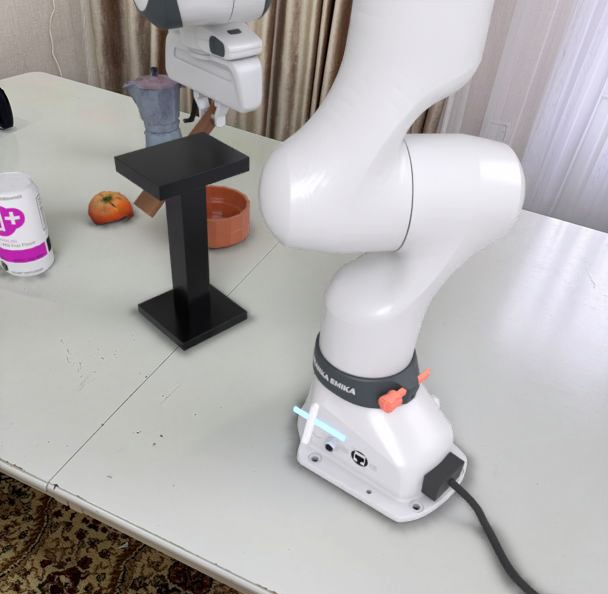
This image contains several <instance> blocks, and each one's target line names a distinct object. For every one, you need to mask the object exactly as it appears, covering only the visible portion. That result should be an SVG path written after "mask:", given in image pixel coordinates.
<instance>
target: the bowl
mask: <svg viewBox="0 0 608 594" xmlns="http://www.w3.org/2000/svg"><path fill="white" fill-rule="evenodd" d="M206 203H207V227H208V249H209V248H212V249H213V248H214V249H218V248H226V247H231V246H234V245H236V244H238V243H241V242H243V241H244V240H245V239H246V238H247V237H248V236H249V234H250V229H251V201H250V199H249V197H248V196H247V194H245V193H243V192H242V191H240V190H238V189H236V188H233V187H230V186H225V185H214V184H210V185H207V186H206Z"/></svg>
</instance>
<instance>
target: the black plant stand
mask: <svg viewBox="0 0 608 594" xmlns="http://www.w3.org/2000/svg"><path fill="white" fill-rule="evenodd" d="M188 135H189V134H188ZM188 135H186V136H182V138H179V139H175V140H171V141H168V142H164V143H161V144H157V145H154V146H150V147H146V146H145V147H144V148H140V149H136V150H132V151H129V152H126V153H121V154H119V155H114V156H113V160H114V161H113V162H114V167H115V168H114V169H115V172H116V173H118V174H120V175H121V176H122V177H124V178H125V179H127V180H128V181H130V182H131V183H132V184H134V185H135V186H137V187H138V188H140V189H141V190H142V191H143V190H144V191H146V192H147V193H149V194H150V195H152V196H153V197H155V198H156V199H158V200H159V201H163V200H165V202H164V205H165V206H164V207H165V215H166V217H165V218H166V227H167V238H168V240H167V241H168V249H169V260H170V272H171V284H172V289H169V290H167V291H165V292H163V293H161V294H158V295H156V296H154V297H151V298H149V299H146V300H145V301H142V302H140V303H138V304H137V310H138V313H139V314H140V315H141V316H143V317H144V318H145V319H146V320H147V321H148V322H150V323H151V324H152V325H153V326H154V327H156V328H157V329H158V330H159V331H160V332H161V333H162V334H164V335H165V336H166V337H167V338H168V339H170V341H172V342H173V343H174V344H175V345H176V346H178V347H179V348H180V349H181V350H182V351H183V352H185V351H188V350H190V349H192V348H194V347H195V346H197V345H199V344H202V343H203V342H205V341H207V340H209V339H211V338H213V337H215V336H217V335H219V334H221V333H223V332H225V331H227V330H229V329H231V328H232V327H235V326H236V325H238V324H240V323H242V322H244V321H247V320H248V311H247V310H246V309H245V308H243V307H242V306H241V305H239V304H238V303H236V302H235V301H234V300H233V299H231V298H230V297H228V296H227V295H226V294H224V293H223V292H222V291H220V290H219V289H218V288H216V287H215V286H214V285H212V283H210V282H211V281H210V279H211V278H210V255H209V254H210V253H209V247H208V227H207V203H206V186H207V185H214V184H216V183H219V182H221V181H224V180H227V179H231V178H233V177H236V176H239V175H242V174H245V173H248V172H250V165H251V163H250V156H249V155H247V154H245V153H243V152H242V151H240V150H238V149H237V148H235V147H233V146H231V145H228V143H225V142H223V141H222V140H219V139H218V138H216V137H214V136H213V135H210V134H207V133H205V132H200V133H196V134H193V135H189V136H188Z"/></svg>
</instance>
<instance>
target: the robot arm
mask: <svg viewBox="0 0 608 594" xmlns="http://www.w3.org/2000/svg"><path fill="white" fill-rule="evenodd" d="M495 1H496V0H352V5H351V11H350V18H349V25H348V30H347V37H346V42H345V47H344V53H343V56H342V60H341V63H340V66H339V69H338V71H337V74H336V76H335V78H334V81H333V82H332V85H331V87H330V89H329V91H328V92H327V95H326V96H325V98H324V99H323V100H322V102H321V103H320V105H319V106H318V107H317V109H316V110H315V112H314V113H313V114H312V115H311V117H310V118H308V119H307V121H306V122H305V123H304V124H303V125H302V126H301V127H300V128H299V129H297V131H296V132H294V133H293V134H291V135H290V136H289V137H287V138H286V139H285V140H284V141H282V142H279V144H278V145H277V146H276V147H275V148H274V149H273V151H272V152H271V153H270V155H269V156H268V157H267V160H266V161H265V163H264V164H263V167H262V170H261V173H260V177H259V181H258V188H257V189H258V190H257V198H258V199H257V200H258V206H259V210H260V214H261V217H262V219H263V223H264V224H265V226H266V228H267V230H268V231H269V233H270V234H271V235H272V237H274V239H275V240H276V241H277V242H278V243H279V244H281V245H282V246H283V247H285V248H292V249H298V250H303V251H307V252H313V253H320V254H327V255H332V254H333V255H334V254H355V253H363V254H361V255H359V256H357V257H355V258H354V259H352V260H350V261H349V262H346V263H345V264H343V265H342V266H341V267H340V268H339V269H338V270H337V271H335V272H334V274H333V275H332V277H331V278H330V280H329V281H328V283H327V285H326V287H325V289H324V293H323V301H322V311H321V319H320V328H319V331H318V333H317V335H316V337H315V343H314V347H313V353H312V369H313V375H312V380H311V384H310V387H309V390H308V394H307V397H306V398H305V401H304V403H303V405H302V406H301V408H299V407H298V406H296V405H295V406H294V407H293V412H294V413H296V414H298V416H297V420H296V421H297V424H296V425H297V431H298V432H297V433H298V436H299V445H298V448H297V452H296V461H297V463H298V464H300V465H301V466H302V467H304V468H306V469H307V470H309V471H310V472H312V473H313V474H316V475H317V476H319V477H320V478H322V479H324V480H326V481H327V482H329V483H330V484H332V485H334V486H336V487H338V488H339V489H340V490H342V491H344V492H345V493H347V494H348V495H350V496H352V497H354V498H355V499H356V500H359V501H361V502H362V503H364V504H365V505H367V506H369V507H370V508H372V509H374V510H375V511H377V512H378V513H380V514H381V515H383V516H385V517H387V518H388V519H390V520H391V521H393V522H396V523H407V522H412V521H416V520H419V519H421V518H423V517H426V516H428V515H429V514H431V513H433V512H434V511H435V510H437V509H438V508H440V506H442V505H443V504H445V502H447V500H449V498H451V497H452V495H454V493H457V494H458V495H459V496H460V497H461V498H462V499H463V500H464V501H465V502H466V503H467V504H468V505H469V506H470V508H471V510H473V512H474V514H475V515H476V517H477V519H478V522H479V524H480V526H481V527H482V529H483V531H484V532H485V533H484V534H485V535H486V536H487V539H488V540H489V543H490V544H491V546H492V549H493V550H494V553H495V555H496V557H497V558H498V561H499V562H500V564H501V565H502V567H503V569H504V571H505V572H506V573H507V575H508V577H510V578H511V580H512V581H513V582H514V583H515V584H516V585H517V586H518V588H520V589H521V590H522V592H524V593H525V594H540V593H539V592H538V591H537V590H535V589H534V588H533V587H532V586H531V585H530V584H528V583H527V581H525V579H523V577H522V576H521V575H520V573H518V571H517V570H516V569H515V567H514V566H513V565H512V563H511V561H510V559H509V558H508V556H507V555H506V553H505V551H504V548H503V546H502V544H501V542H500V541H499V538H498V537H497V535H496V533H495V531H494V530H493V527H492V526H491V524H490V522H489V520H488V518H487V516H486V514H485V512H484V510H483V508H482V507H481V505H480V504H479V503H478V502H477V500H476V498H474V497H473V496H472V495H471V494H470V493H469V492H468V491H467V490H466V489H465V487H463V486H462V485H461V483H462V482H463V480H464V477H465V474H466V471H467V465H468V457H467V456H466V454H465V453H464V452H463V451H462V450H461V449H460V448H459V447H458V446H457V445H456V444H455V443H454V439H455V437H454V436H455V435H454V430H453V426H452V424H451V422H450V421H449V419H448V418H447V416H446V415H445V414H444V413H443V411H442V410H441V401H440V399H439V397H438V396H437V395H436V394H434V393H430V392H429V391H428V389H427V388H426V386H425V385H424V383H423V382H425V381H426V380H427V379H428V377H429V376H430V372H431V370H432V369H431V368H430V367H429V368H427V369H426V370H424V371H423V372H421V373H420V367H419V360H418V355H417V350H416V344H417V341H418V337H419V334H420V330H421V328H422V324H423V321H424V318H425V316H426V312H427V310H428V308H429V306H430V304H431V302H432V301H433V299H434V297H435V296H436V294H437V293H438V292H439V290H440V289H441V287H442V286H443V285H444V284H445V283H446V282H447V280H448V279H449V278H451V276H452V275H453V274H454V273H455V272H456V271H457V270H458V269H459V268H460V267H461V266H462V265H463V264H464V263H466V261H468V260H469V259H470V258H471V257H473V256H474V255H475V254H476V253H478V252H480V251H481V250H483V249H484V248H485V247H487V246H489V245H490V244H492V243H494V242H497V241H498V240H500V239H502V238H503V237H505V236H506V235H507V234H508V233H509V231H511V229H512V228H513V227H514V225H515V223H516V222H517V220H518V219H519V217H520V214H521V212H522V209H523V206H524V203H525V200H526V199H525V198H526V177H525V172H524V169H523V166H522V164H521V161H520V159H519V157H518V155H517V154H516V152H515V151H514V150H513V148H512V147H511V146H510V145H508V143H505V142H501V141H499V140H494V139H490V138H486V137H481V136H476V135H472V134H467V133H461V132H460V133H459V132H458V133H457V132H456V133H453V132H452V133H450V132H449V133H445V132H444V133H439V132H437V133H433V132H431V133H408V131H409V130H410V128H411V127H412V125H413V124H414V123H415V122H416V120H417V119H419V117H420V116H421V115H422V114H423V113H424V112H425V111H426V110H428V109H429V108H431V107H432V106H433V105H435V104H437V103H438V102H441V101H442V100H444V99H446V98H448V97H450V96H452V95H454V94H456V93H457V92H458V91H460V90H461V89H462V88H463V87H465V86H467V84H468V83H469V82H470V80H471V79H472V77H474V75H475V74H476V71H478V69H479V67H480V65H481V63H482V60H483V56H484V51H485V46H486V42H487V37H488V32H489V28H490V24H491V19H492V14H493V10H494V6H495ZM273 2H274V0H133V4H134V6H135V8H136V10H137V11H138V13H139V14H140V15H141V16H142V17H143V18H145V19H146V20H147V21H148V22H149V23H150V24H151V25H153V26H155V27H156V28H157V29H159V30H160V31H167V30H168V32H167V35H166V38H165V51H164V52H165V53H164V54H165V56H164V57H165V59H164V60H165V61H164V62H165V71H166V75H168V76H169V78H170V79H172V80H174V81H176V82H178V83H180V84H182V85H184V86H186V87H185V88H188V89H190V90H193V91H192V93H193V98H195V101H196V103H197V109H198V114H199V116H198V117H199V119H201V118H202V116H203V115H204V114H205V112H206V111H207V110H208V108H209V107H210V106H211V104H210V101H209V99H211V100H213V102H214V105H215V107H217V109H216V112H215V114H211V119H212V121H211V123H212V125H214V126H215V127H216V128H219V129H220V128H224V127H225V126H226V123H227V122H226V116H227V114H228V112H229V110H230V109H232V110H234V111H235V112H237V113H240V114H246V113H250V112H254V111H257V110H258V109H259V108H260V106H261V104H262V100H263V68H262V63H261V60H260V58H259V56H258V55H261V54H262V53H263V41H262V39H261V37H260V36H259V35H258V34H256V33H255V32H254V31H253V30H252V29H251V28H250V27H249V26H248V25H247V22H253V21H256V20H260V19H262V17H264V16H265V14H266V13H267V12H268V10H269V9H270V7H271V5H272V3H273ZM415 508H416V509H415Z"/></svg>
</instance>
